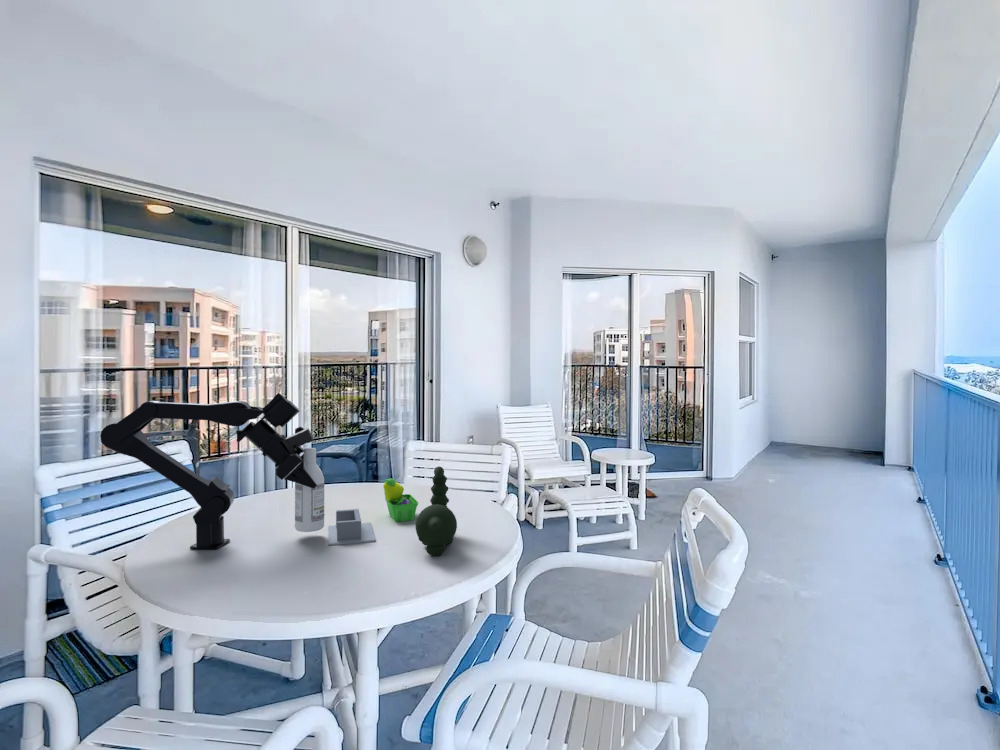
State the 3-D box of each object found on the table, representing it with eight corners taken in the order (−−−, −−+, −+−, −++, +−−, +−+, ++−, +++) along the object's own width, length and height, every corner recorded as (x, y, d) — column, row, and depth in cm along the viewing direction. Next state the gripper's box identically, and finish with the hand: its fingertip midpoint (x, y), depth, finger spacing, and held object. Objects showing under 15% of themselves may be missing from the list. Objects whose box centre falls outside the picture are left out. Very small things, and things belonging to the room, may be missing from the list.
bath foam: (326, 524, 147) (327, 446, 147) (320, 532, 141) (321, 450, 140) (298, 525, 147) (299, 446, 146) (291, 532, 140) (292, 450, 140)
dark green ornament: (421, 538, 148) (412, 563, 123) (421, 464, 150) (412, 474, 125) (457, 538, 149) (456, 562, 124) (458, 464, 150) (456, 474, 125)
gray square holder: (328, 545, 137) (328, 525, 137) (328, 527, 153) (328, 509, 153) (375, 541, 140) (375, 521, 140) (370, 524, 156) (370, 506, 156)
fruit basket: (419, 521, 159) (419, 480, 159) (387, 524, 156) (387, 482, 156) (410, 511, 170) (410, 473, 170) (379, 513, 167) (379, 475, 166)
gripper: (291, 421, 133) (340, 466, 136) (295, 414, 151) (338, 454, 154) (254, 456, 131) (305, 501, 134) (262, 445, 149) (307, 485, 152)
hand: (315, 483), depth 144 cm, fingers closed on bath foam, 7 cm apart
